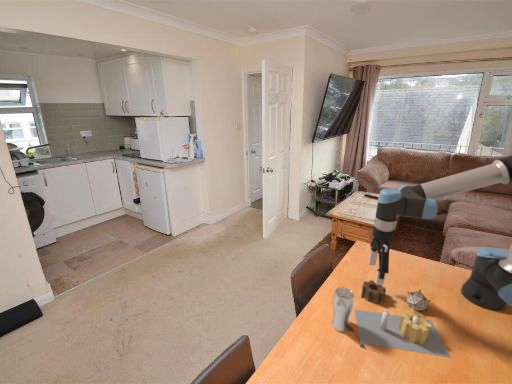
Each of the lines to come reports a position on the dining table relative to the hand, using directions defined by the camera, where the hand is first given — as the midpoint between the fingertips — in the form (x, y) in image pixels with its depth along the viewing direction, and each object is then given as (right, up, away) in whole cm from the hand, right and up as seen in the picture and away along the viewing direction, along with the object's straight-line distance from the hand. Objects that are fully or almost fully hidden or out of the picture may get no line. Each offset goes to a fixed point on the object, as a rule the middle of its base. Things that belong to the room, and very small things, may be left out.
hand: (375, 273), depth 110 cm
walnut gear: (0, -12, +4) cm, 13 cm away
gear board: (+2, -18, -14) cm, 23 cm away
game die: (+15, -14, -2) cm, 21 cm away
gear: (+7, -17, -15) cm, 24 cm away
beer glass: (-18, -17, -10) cm, 26 cm away
